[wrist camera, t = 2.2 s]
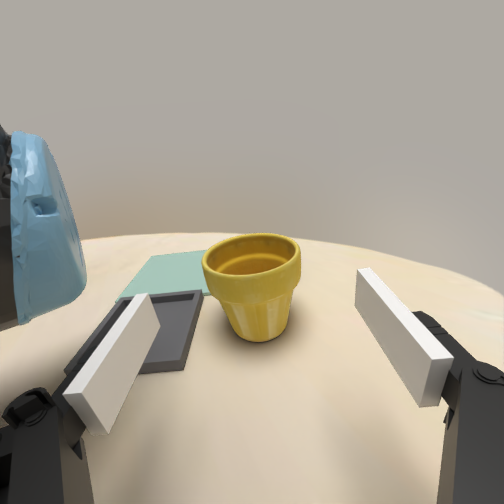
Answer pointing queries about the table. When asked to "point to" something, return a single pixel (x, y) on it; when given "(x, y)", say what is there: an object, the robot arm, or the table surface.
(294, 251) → the plant pot
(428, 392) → the robot arm
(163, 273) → the pad
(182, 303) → the tray
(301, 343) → the table surface
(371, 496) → the table surface
